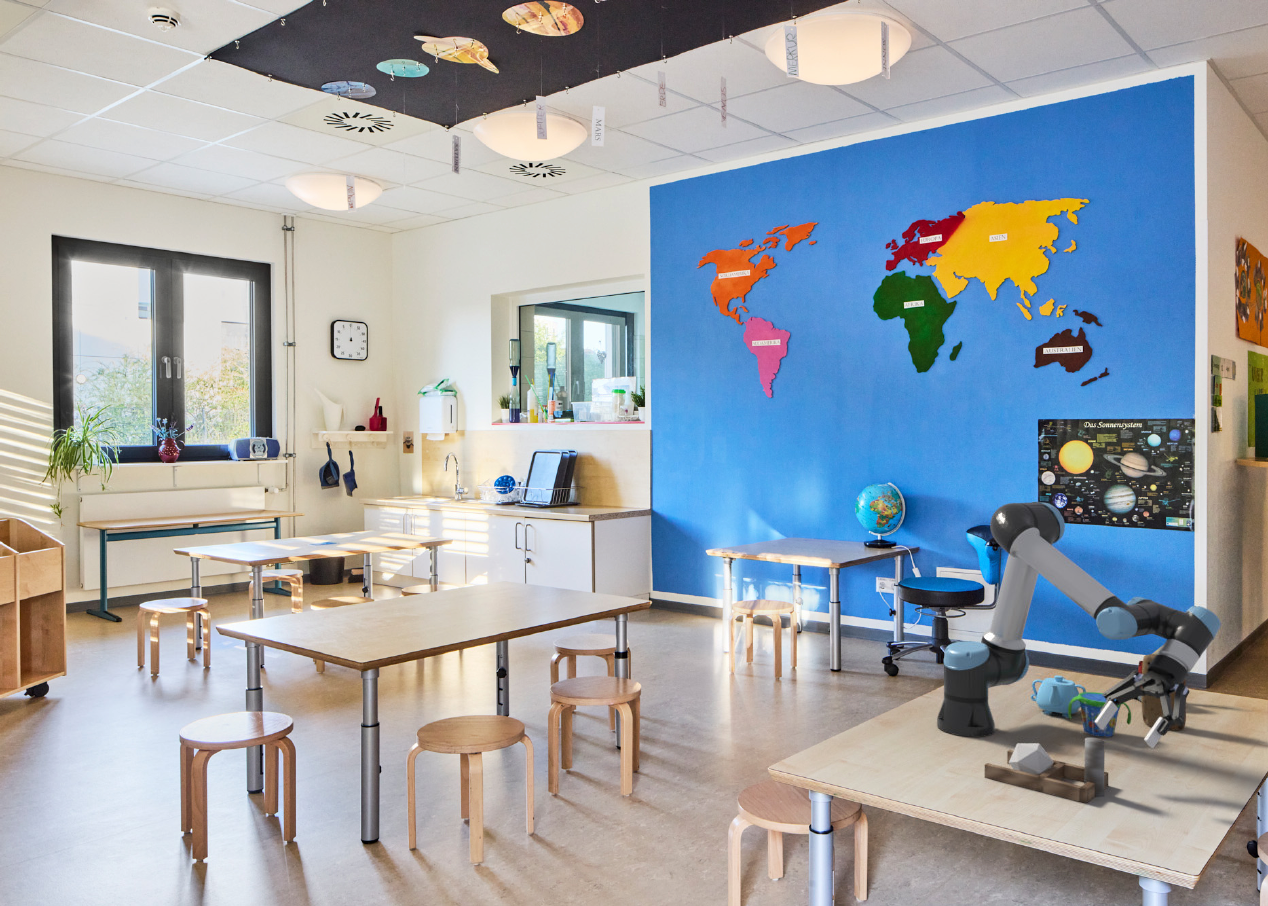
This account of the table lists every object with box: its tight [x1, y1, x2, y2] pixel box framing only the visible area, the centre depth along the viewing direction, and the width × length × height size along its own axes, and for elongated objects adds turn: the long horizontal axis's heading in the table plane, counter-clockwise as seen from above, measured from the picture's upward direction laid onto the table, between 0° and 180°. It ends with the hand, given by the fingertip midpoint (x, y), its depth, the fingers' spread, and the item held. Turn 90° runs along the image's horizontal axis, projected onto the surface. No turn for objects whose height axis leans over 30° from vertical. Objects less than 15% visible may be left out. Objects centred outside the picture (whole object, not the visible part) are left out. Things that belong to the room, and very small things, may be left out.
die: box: [1008, 742, 1054, 776], centre depth 220 cm, size 8×9×10 cm
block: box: [1140, 653, 1187, 731], centre depth 262 cm, size 11×8×20 cm
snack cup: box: [1068, 691, 1132, 738], centre depth 255 cm, size 16×10×10 cm
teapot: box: [1030, 675, 1087, 719], centre depth 274 cm, size 13×14×11 cm
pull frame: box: [984, 737, 1109, 804], centre depth 217 cm, size 24×15×12 cm, turn 46°
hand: (1122, 734), depth 212 cm, fingers open, 13 cm apart
